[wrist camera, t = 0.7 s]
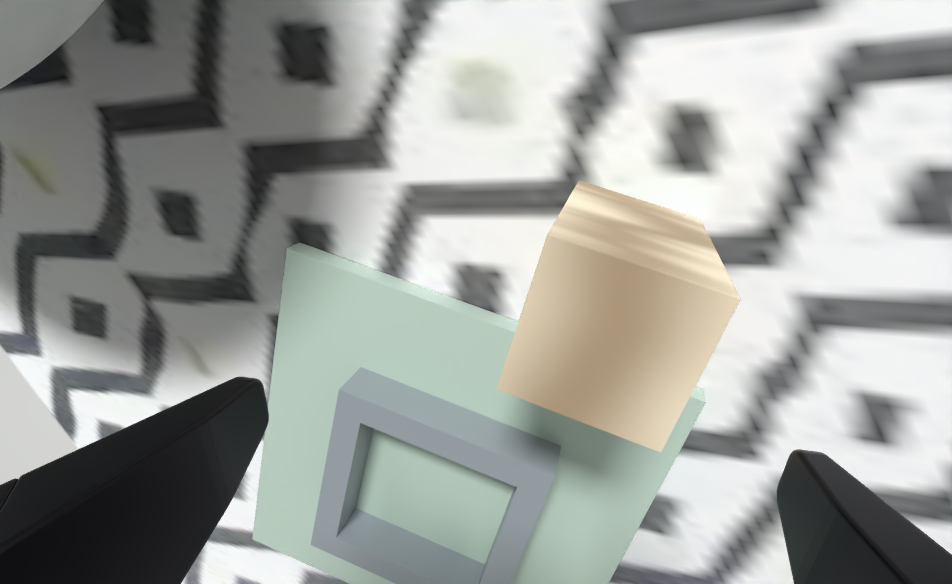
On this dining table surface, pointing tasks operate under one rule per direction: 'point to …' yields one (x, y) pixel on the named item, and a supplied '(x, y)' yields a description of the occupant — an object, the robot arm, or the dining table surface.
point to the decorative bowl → (36, 31)
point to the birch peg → (620, 316)
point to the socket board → (432, 445)
